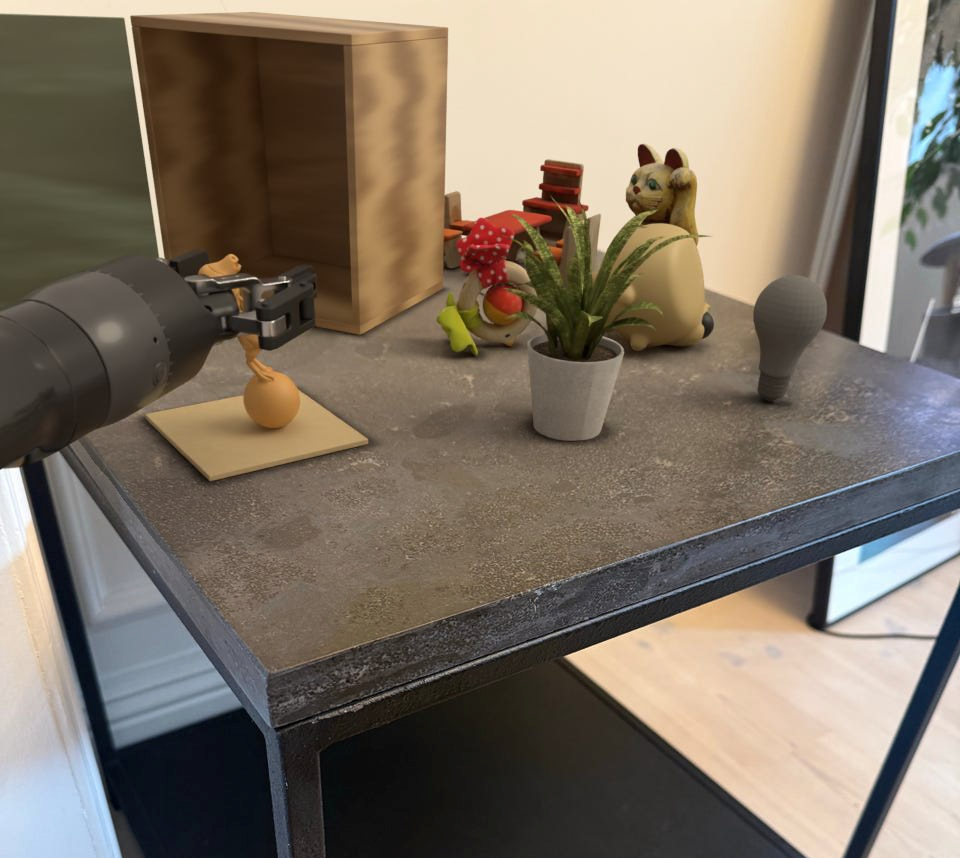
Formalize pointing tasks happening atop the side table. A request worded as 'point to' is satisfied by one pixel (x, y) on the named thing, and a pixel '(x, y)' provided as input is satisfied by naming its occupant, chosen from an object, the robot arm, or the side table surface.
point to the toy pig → (663, 291)
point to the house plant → (578, 327)
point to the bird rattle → (487, 268)
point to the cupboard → (301, 151)
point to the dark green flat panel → (68, 151)
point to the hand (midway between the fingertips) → (256, 272)
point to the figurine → (260, 368)
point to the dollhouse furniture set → (533, 218)
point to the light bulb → (786, 329)
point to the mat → (250, 436)
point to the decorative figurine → (664, 189)
